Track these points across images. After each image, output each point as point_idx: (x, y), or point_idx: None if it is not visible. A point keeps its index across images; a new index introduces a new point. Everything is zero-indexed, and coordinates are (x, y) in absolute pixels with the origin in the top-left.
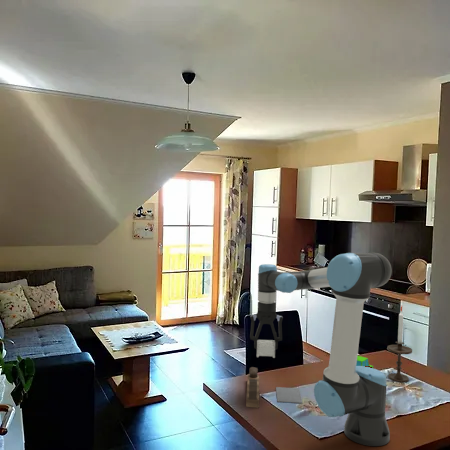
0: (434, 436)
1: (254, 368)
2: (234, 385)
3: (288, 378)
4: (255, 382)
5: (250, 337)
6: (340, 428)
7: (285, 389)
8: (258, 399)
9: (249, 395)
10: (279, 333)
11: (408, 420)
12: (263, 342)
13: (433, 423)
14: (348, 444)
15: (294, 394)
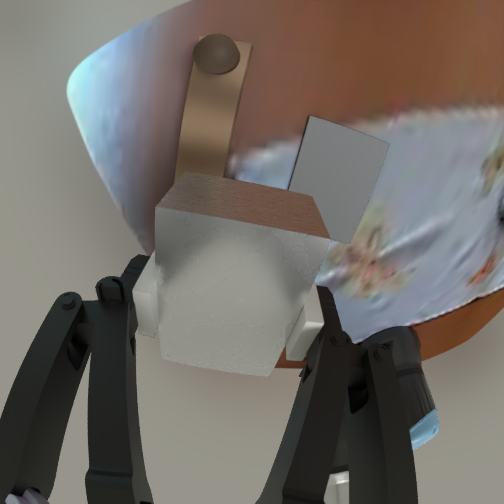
0: (456, 344)
1: (221, 49)
2: (146, 85)
3: (386, 44)
4: None
5: (72, 342)
6: (361, 336)
7: (339, 142)
8: None
9: None
10: (348, 432)
11: (472, 312)
12: (204, 300)
13: (485, 317)
14: None
15: (353, 187)
